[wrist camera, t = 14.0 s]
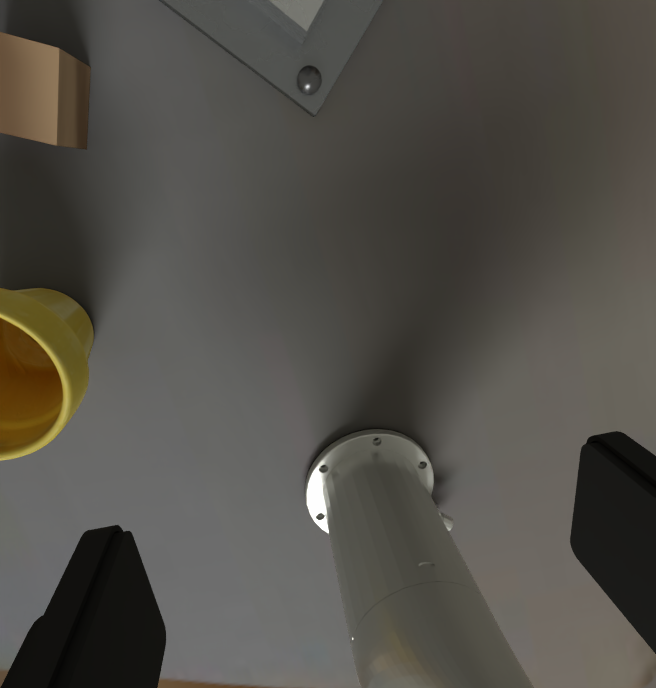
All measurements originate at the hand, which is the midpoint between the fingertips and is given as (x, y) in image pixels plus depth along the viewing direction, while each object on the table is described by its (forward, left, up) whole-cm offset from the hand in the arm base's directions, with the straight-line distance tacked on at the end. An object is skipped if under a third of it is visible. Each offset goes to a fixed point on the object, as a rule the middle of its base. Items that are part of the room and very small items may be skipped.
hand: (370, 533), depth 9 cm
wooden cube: (+19, -1, -28) cm, 34 cm away
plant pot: (+13, +14, -28) cm, 34 cm away
